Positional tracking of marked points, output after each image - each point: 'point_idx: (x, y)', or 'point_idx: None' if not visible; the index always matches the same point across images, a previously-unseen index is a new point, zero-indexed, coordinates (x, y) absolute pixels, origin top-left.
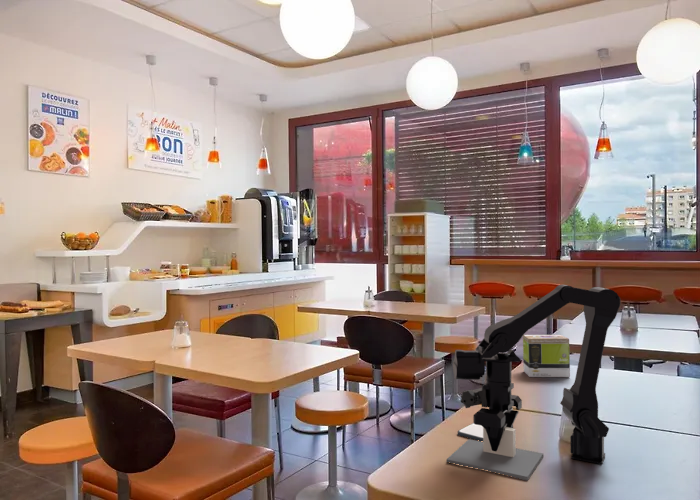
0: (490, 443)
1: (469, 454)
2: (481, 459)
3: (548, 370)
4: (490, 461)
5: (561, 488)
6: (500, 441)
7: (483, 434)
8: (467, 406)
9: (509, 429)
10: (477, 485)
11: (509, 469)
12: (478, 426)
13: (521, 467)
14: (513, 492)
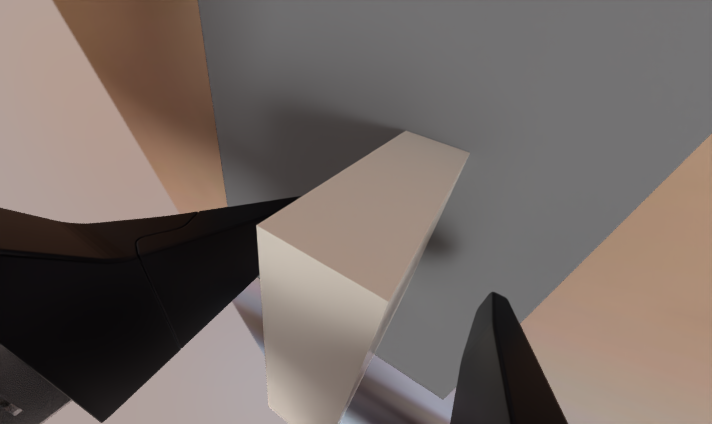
0: (252, 206)
1: (319, 25)
2: (281, 120)
3: None
4: (281, 166)
5: (250, 308)
6: (254, 273)
7: (335, 177)
8: None
9: (287, 409)
10: (147, 107)
11: None
12: None
13: None
14: (179, 204)
